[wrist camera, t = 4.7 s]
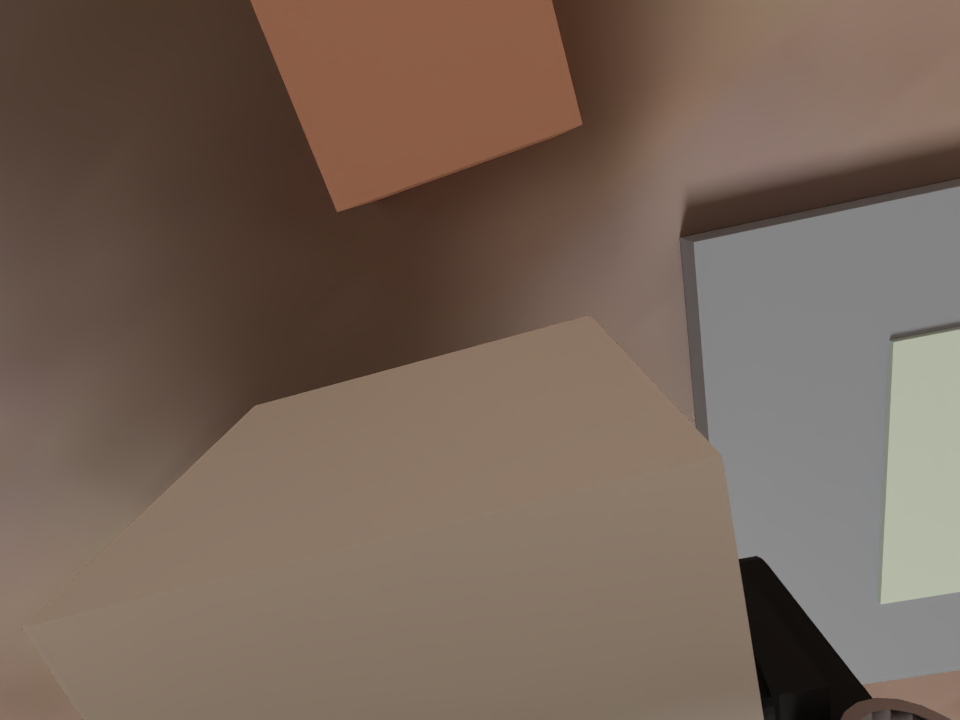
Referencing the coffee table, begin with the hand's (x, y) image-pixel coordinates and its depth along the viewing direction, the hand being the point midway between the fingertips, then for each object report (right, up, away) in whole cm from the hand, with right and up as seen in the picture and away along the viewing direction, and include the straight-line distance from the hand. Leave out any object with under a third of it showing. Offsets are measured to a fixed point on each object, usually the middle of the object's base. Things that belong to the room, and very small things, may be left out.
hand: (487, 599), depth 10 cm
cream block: (0, 0, +1) cm, 1 cm away
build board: (+18, +1, +10) cm, 21 cm away
